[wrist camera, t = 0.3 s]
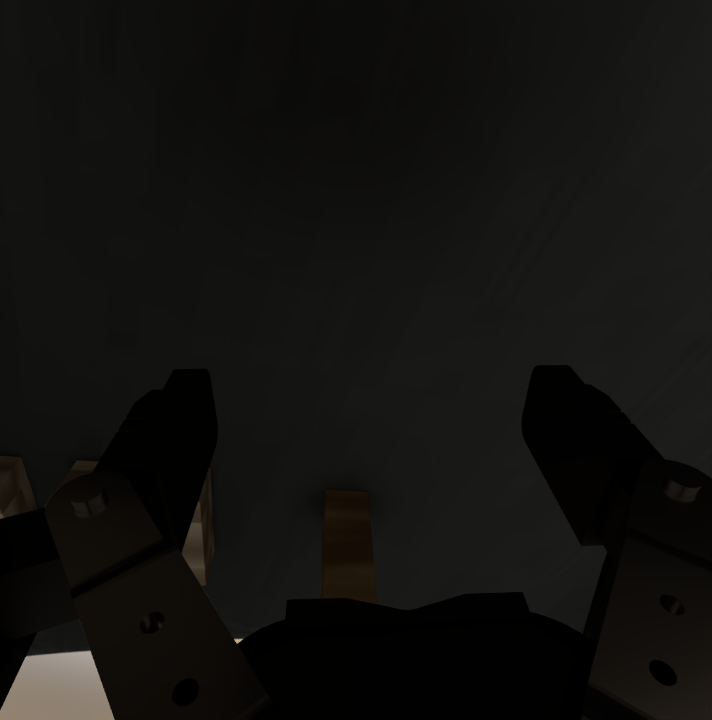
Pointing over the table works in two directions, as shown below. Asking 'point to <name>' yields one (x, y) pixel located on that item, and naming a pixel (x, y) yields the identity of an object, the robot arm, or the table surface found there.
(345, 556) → the tall brown wooden block
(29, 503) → the end cap
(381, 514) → the table surface
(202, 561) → the end cap
